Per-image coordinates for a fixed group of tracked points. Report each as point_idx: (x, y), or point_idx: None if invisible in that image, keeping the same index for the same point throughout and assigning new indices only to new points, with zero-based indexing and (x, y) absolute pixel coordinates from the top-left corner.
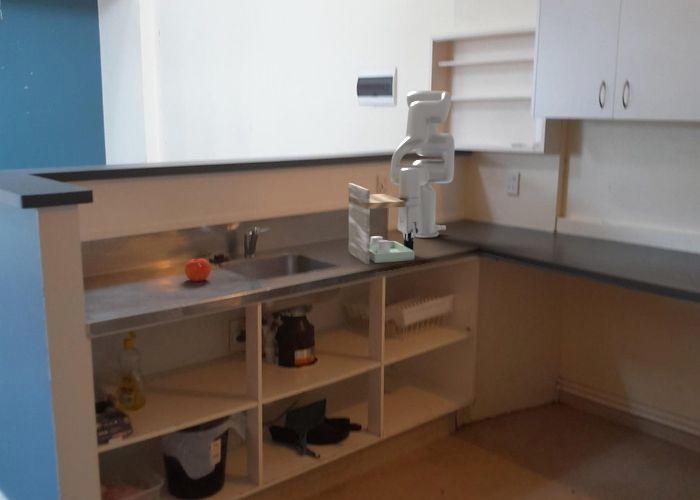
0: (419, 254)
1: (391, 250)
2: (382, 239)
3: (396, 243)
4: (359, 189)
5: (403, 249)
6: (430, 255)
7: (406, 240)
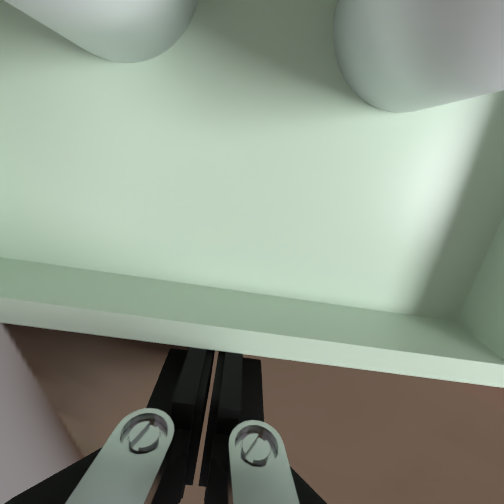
0: None
1: (365, 238)
2: (471, 28)
3: (422, 349)
4: None
5: (192, 303)
6: None
7: (163, 422)
